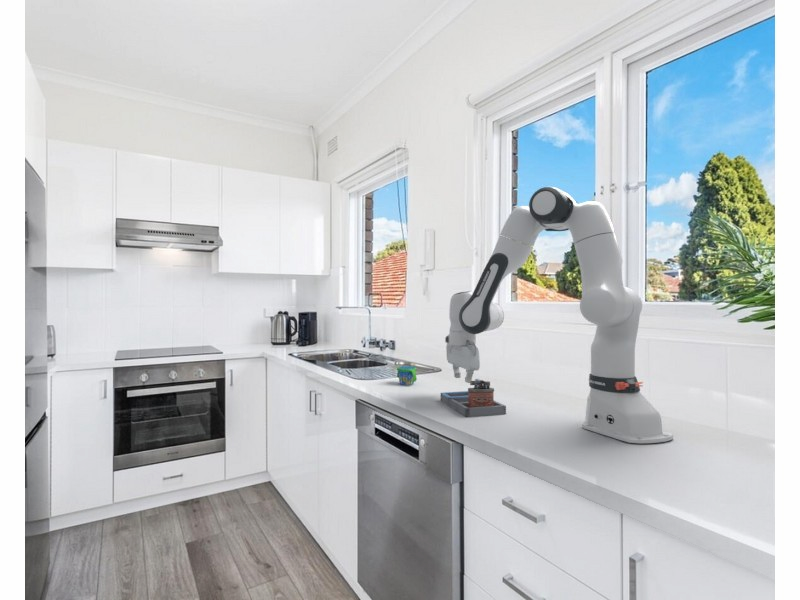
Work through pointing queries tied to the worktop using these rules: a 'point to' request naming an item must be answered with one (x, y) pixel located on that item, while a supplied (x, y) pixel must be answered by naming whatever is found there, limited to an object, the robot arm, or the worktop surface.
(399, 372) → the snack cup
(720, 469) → the worktop surface
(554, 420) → the worktop surface
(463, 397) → the divider tray
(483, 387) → the lighter
